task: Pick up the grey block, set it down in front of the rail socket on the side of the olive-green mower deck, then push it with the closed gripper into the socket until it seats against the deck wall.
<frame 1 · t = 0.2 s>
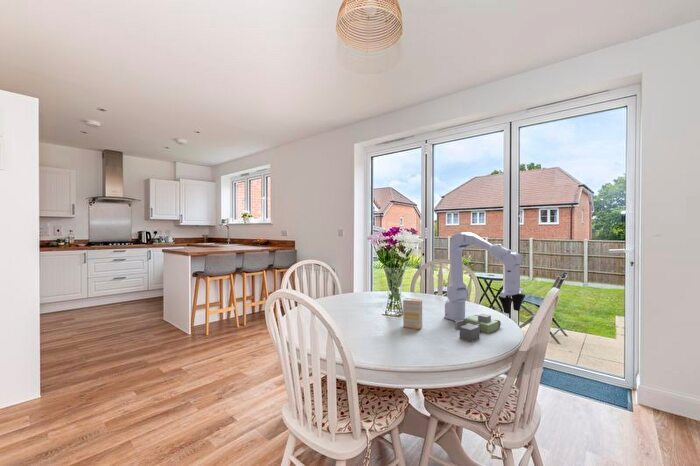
hand: (511, 311, 133), 10 cm above the table, tool pointing down, fingers open, 7 cm apart
deck: (480, 327, 143), on the table
supplement box: (412, 327, 144), on the table
grey block: (469, 338, 130), on the table
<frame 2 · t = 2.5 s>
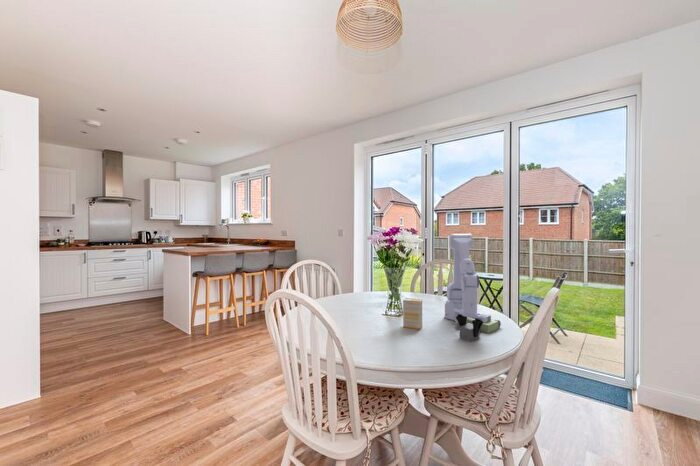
hand: (469, 334, 130), 1 cm above the table, tool pointing down, fingers closed on grey block, 5 cm apart
grey block: (469, 338, 130), on the table, touching gripper
everything else where it was.
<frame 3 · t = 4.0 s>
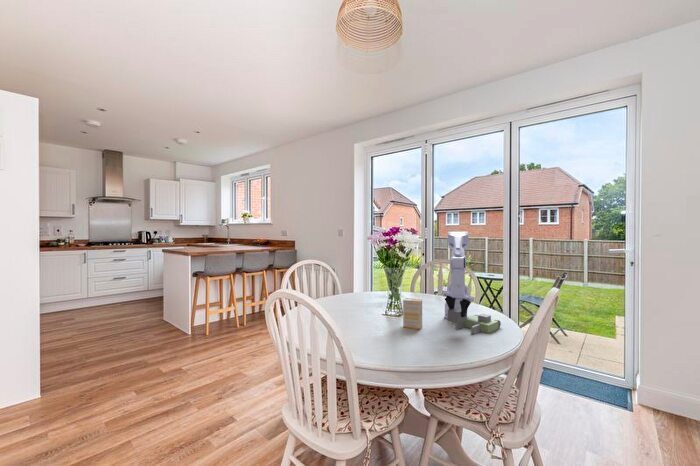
hand: (457, 315, 135), 8 cm above the table, tool pointing down, fingers closed on grey block, 5 cm apart
grey block: (457, 321, 135), point 6 cm above the table, touching gripper
everything else where it was.
when the fingers open (2 cm above the table, at t = 5.5 s): grey block stays where it is, on the table.
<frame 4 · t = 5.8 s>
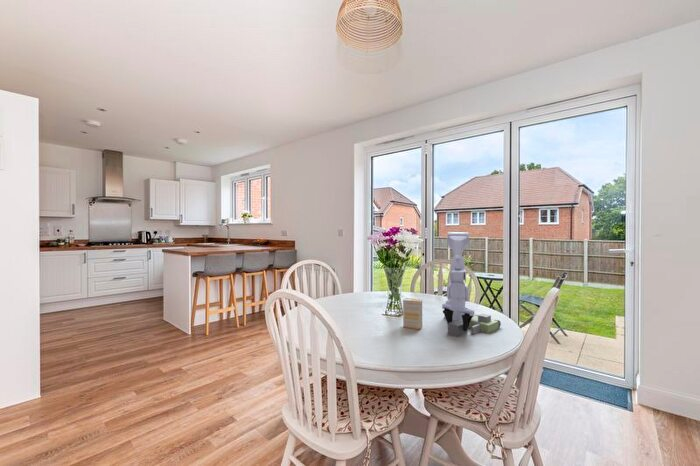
hand: (457, 328, 135), 2 cm above the table, tool pointing down, fingers open, 7 cm apart
grey block: (457, 334, 135), on the table
everything else where it was.
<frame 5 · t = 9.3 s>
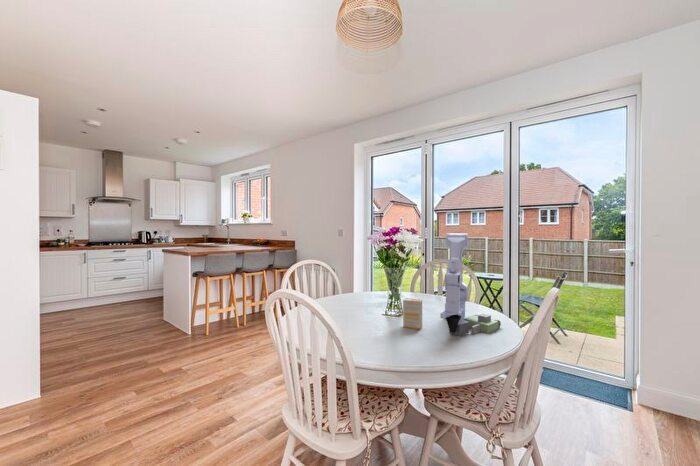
hand: (452, 332, 133), 2 cm above the table, tool pointing down, fingers closed
grey block: (459, 333, 136), on the table, touching gripper
everything else where it was.
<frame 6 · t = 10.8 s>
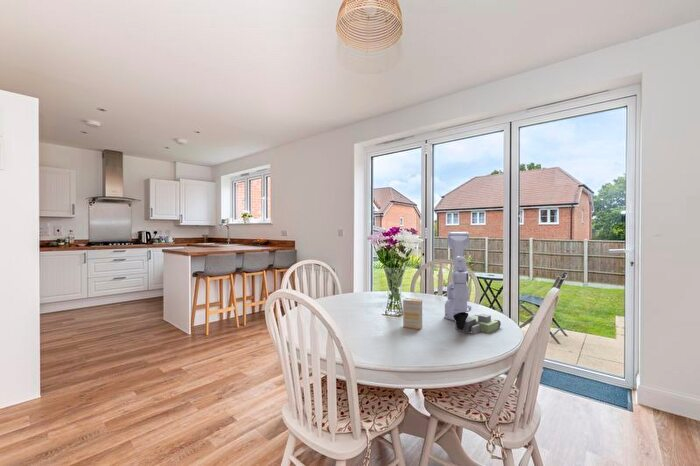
hand: (460, 329, 136), 2 cm above the table, tool pointing down, fingers closed
grey block: (466, 330, 139), on the table, touching gripper
everything else where it was.
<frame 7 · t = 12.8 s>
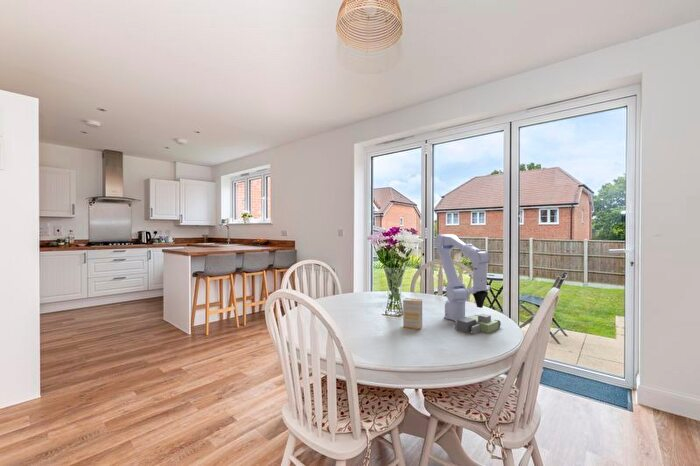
hand: (479, 307, 142), 10 cm above the table, tool pointing down, fingers closed
grey block: (466, 330, 139), on the table
everything else where it was.
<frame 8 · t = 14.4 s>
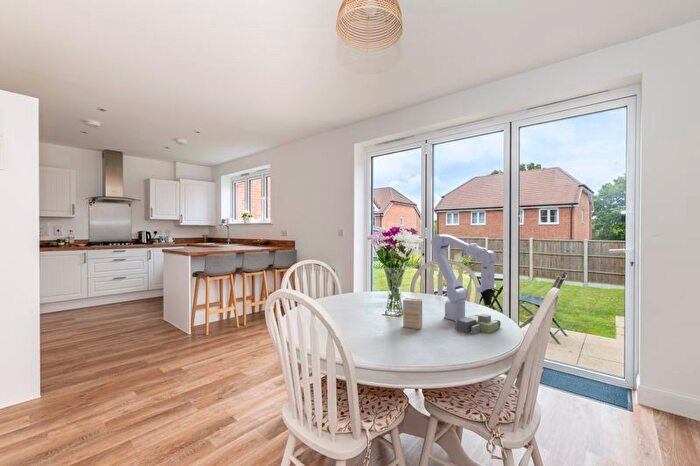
hand: (487, 305, 144), 10 cm above the table, tool pointing down, fingers closed
nothing on the table moved.
at the end: grey block 0.2 cm from the target spot, on the table; grey block tilted 0°; the gripper is holding nothing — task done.
